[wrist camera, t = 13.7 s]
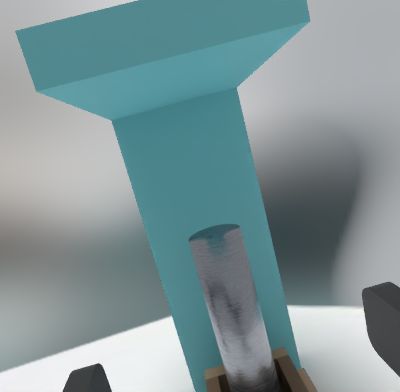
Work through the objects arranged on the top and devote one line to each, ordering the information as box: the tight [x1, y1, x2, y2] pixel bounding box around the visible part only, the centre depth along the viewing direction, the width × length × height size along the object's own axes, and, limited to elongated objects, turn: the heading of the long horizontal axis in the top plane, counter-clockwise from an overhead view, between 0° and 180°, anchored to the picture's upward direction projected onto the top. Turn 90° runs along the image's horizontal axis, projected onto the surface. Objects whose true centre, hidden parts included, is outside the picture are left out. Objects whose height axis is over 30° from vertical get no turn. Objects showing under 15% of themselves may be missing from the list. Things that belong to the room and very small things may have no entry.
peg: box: [188, 224, 281, 392], centre depth 21 cm, size 3×3×16 cm
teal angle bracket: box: [15, 0, 310, 392], centre depth 20 cm, size 10×15×28 cm, turn 5°
